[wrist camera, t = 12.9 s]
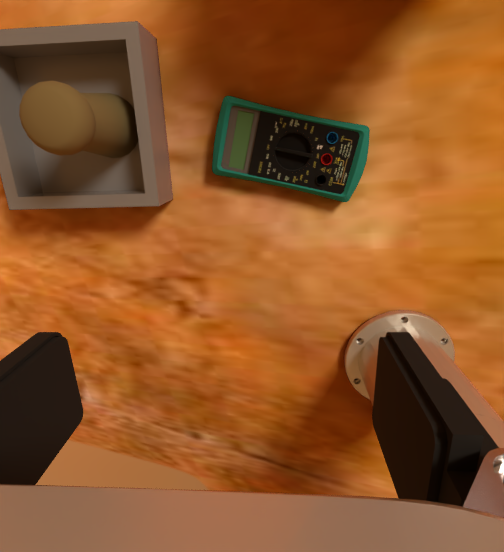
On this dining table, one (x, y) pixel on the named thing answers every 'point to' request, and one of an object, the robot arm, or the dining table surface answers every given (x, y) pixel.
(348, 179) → the digital multimeter
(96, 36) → the gray square tray
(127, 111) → the tan piece
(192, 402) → the dining table surface
